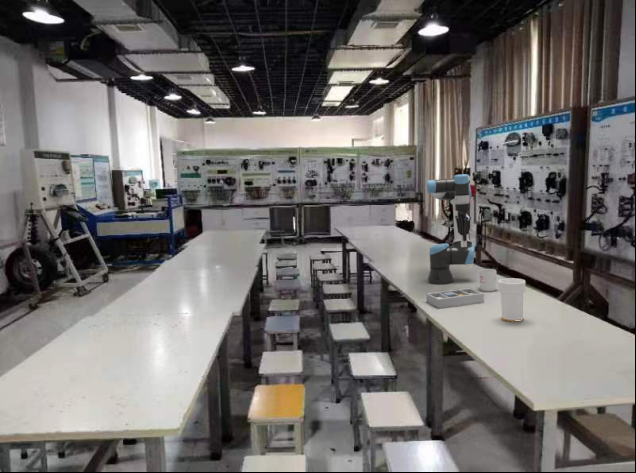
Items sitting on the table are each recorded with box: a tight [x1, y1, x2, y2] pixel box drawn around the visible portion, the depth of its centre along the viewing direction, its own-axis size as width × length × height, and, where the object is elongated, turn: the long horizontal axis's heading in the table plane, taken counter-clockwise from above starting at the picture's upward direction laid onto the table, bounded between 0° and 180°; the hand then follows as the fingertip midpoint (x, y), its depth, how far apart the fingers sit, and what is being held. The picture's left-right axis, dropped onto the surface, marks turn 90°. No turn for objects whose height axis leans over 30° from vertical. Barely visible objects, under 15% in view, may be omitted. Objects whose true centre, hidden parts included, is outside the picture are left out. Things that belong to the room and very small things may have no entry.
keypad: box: [425, 287, 485, 309], centre depth 245 cm, size 14×25×5 cm, turn 102°
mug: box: [476, 268, 498, 293], centre depth 266 cm, size 12×9×11 cm
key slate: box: [443, 292, 455, 297], centre depth 244 cm, size 4×4×2 cm
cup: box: [497, 277, 526, 322], centre depth 211 cm, size 11×11×17 cm
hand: (463, 246), depth 256 cm, fingers closed
